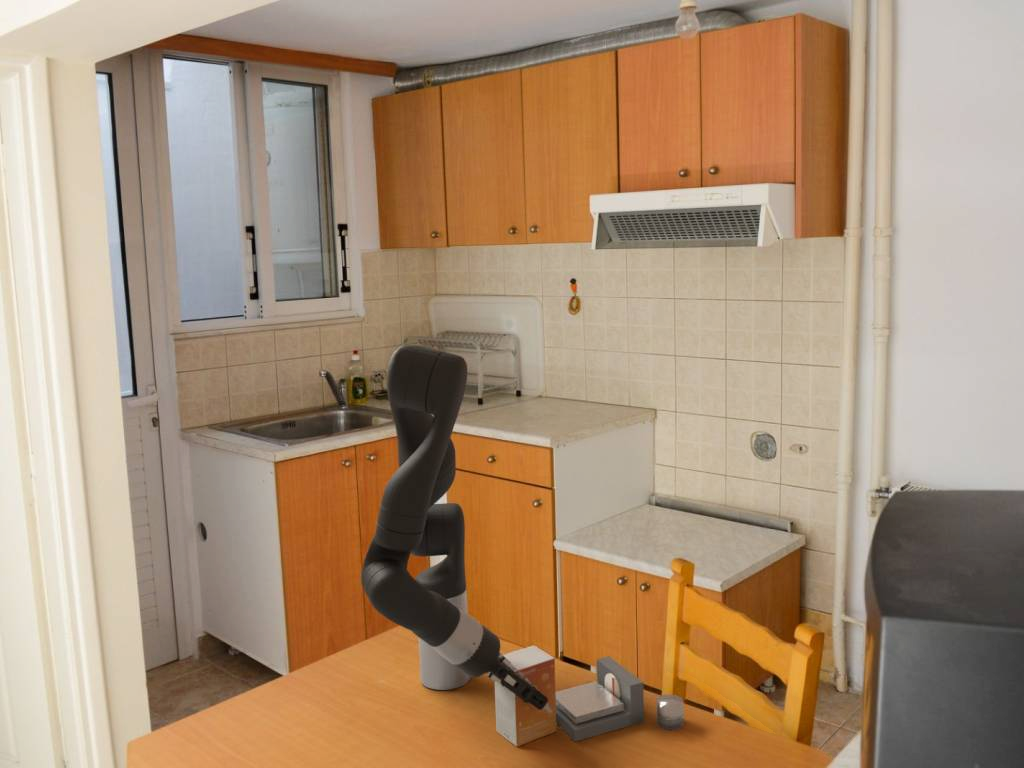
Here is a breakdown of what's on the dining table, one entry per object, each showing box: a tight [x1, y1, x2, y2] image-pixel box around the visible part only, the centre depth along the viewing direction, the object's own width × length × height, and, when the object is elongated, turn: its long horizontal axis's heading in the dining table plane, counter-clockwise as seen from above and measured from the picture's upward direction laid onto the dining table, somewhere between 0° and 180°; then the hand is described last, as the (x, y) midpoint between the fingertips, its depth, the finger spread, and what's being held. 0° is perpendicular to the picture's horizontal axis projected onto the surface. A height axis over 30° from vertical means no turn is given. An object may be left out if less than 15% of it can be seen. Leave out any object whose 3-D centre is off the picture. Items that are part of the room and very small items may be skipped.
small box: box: [494, 645, 557, 747], centre depth 153 cm, size 8×6×13 cm
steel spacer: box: [656, 694, 685, 731], centre depth 155 cm, size 4×4×4 cm
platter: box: [555, 680, 624, 724], centre depth 157 cm, size 9×9×1 cm
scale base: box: [556, 656, 645, 742], centre depth 158 cm, size 11×13×7 cm
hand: (532, 692), depth 154 cm, fingers open, 8 cm apart
